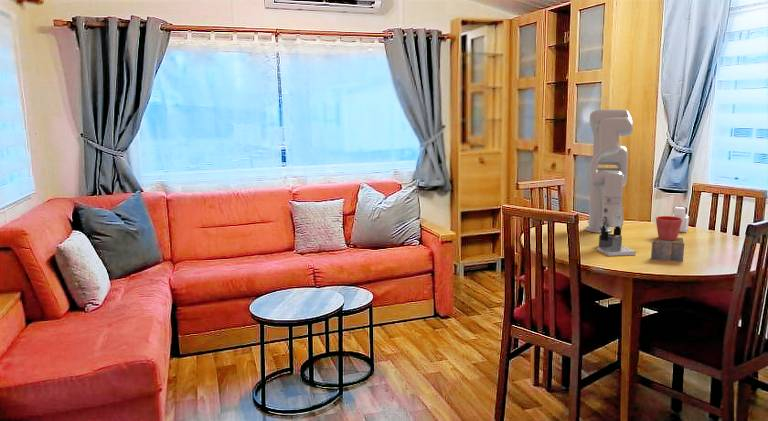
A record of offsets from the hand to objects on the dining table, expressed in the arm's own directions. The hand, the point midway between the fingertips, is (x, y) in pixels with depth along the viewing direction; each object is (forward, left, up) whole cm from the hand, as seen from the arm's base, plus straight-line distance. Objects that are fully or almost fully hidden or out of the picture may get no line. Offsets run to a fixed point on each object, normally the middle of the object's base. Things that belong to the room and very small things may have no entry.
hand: (610, 239), depth 252 cm
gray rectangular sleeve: (-1, 0, -4) cm, 4 cm away
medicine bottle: (-28, +50, -4) cm, 57 cm away
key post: (+10, -3, -4) cm, 11 cm away
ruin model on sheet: (+24, +11, -4) cm, 27 cm away
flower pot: (-12, +34, -4) cm, 36 cm away
